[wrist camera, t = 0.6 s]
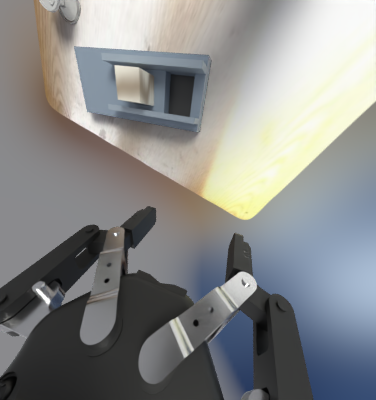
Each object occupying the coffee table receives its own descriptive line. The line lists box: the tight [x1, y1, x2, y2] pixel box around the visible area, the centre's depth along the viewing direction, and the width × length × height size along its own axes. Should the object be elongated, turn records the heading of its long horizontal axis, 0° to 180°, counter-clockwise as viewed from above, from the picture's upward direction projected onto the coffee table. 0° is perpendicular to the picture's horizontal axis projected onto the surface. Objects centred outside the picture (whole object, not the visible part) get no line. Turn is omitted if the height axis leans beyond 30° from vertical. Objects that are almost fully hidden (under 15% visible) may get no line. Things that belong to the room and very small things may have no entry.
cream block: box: [115, 65, 154, 106], centre depth 27 cm, size 5×5×5 cm
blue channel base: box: [74, 46, 211, 132], centre depth 30 cm, size 12×30×6 cm, turn 81°
